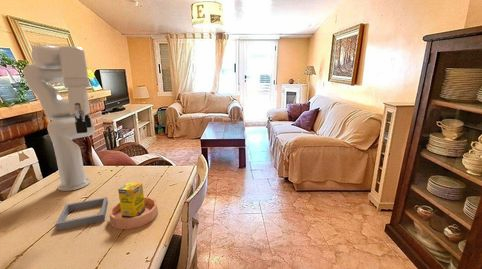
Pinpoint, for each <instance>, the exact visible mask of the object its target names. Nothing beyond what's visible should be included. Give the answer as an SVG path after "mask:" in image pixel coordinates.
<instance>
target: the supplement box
mask: <svg viewBox="0 0 482 269" xmlns="http://www.w3.org/2000/svg"><path fill="white" fill-rule="evenodd" d="M143 186H144V185H143V183H142V182H129V181H128V182H127V183H126V184H124V185H122V186H121V187H120V188H117V191H118V197H119V198H118V199H119V202H120V207H121V214H122V217H127V218H132V217H137V216H139V215H140V214H141V213H142V212H143V211H145V203H144V197H145V195H144V187H143Z"/></svg>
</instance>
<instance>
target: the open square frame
mask: <svg viewBox="0 0 482 269" xmlns="http://www.w3.org/2000/svg"><path fill="white" fill-rule="evenodd" d="M108 205H109V201H108V196H106V197H100V198H95V199H88V200H84V201H78V202H72V203H66V204H65V205H64V207H63V209H62V211H61V213H60V215H59V217H58V219H57V221H56V223H55V229H56V231H57V232H58V231H59V232H60V231H63V230H68V229H71V228H72V229H73V228H78V227H83V226H86V225H87V226H88V225H92V224H96V223H100V222H101V223H102V222H105V221H106V215H107V210H108V209H107V208H108ZM98 206H101V211H100V213H99V214H98V213H97V214H93V215H88V216H81V217H78V218H72V219H67V217H68V215H69V213H70V212H71V211H72V212H73V211H76V210H82V209H83V210H84V209H87V208H92V207H98Z"/></svg>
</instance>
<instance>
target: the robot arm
mask: <svg viewBox="0 0 482 269" xmlns="http://www.w3.org/2000/svg"><path fill="white" fill-rule="evenodd" d="M31 58H32V61H33V63H31V64H28V65H26V66H25V67H23V72H22V73H23V76H24V79H25V82H26V84H27V86H28V87H29V89H30V90H31V91H32V92H33V93H34V95H36V96H37V99H38V100H39V104H40V105H41V108H42V110H43V112H44V114H45V116H46V118H47V119H48V120H49V121H50V122H49V123H48V124H47V128H46V129H47V133H48V135H49V137H50V141H51V142H52V145H53V150H54V154H55V158H56V164H57V168H58V174H59V178H60V179H59V180H60V183H59V184H58V185H57V190H58V191H62V192H71V191H75V190H79V189H82V188H85V187H87V186H88V185H90V182H91V180H90V178H87V177H86V174H85V168H84V161H83V157H82V156H83V155H82V151H81V148H80V145H78V144H77V143H76V142H74V141H73V140H75V139H79V138H86V137H90V136H92V135H94V133H95V130H96V128H95V126H96V125H95V123H94V121H93V118H92V117H91V115H90V112H91V111H90V110H91V108H90V100H89V96H88V95H89V94H88V88H91V86H90V79H89V73H88V67H87V61H86V54H85V50H84V49H83V47H80V46H73V45H71V46H70V45H69V46H68V45H66V46H55V45H40V46H39V45H37V46H36V45H35V46H33V47H32V49H31ZM49 83H63V85H64V89H65V88H66V89H67V98H63V97H62V95H61V93H60V91H59V90H57V88H55V87H54V86H52V85H50V84H49Z"/></svg>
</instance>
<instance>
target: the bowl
mask: <svg viewBox="0 0 482 269" xmlns="http://www.w3.org/2000/svg"><path fill="white" fill-rule="evenodd" d="M144 203H145V211H143V212H142V213H141V214H140V215H139V216H137V217H132V218H127V217H122V214H121V207H120V201H119V202H117V203H116V204H114V205H113V206H112V207H111V208H110V209H109V215H108V216H109V222H110V225H112V226H113V227H114V228H116V229H120V230H121V229H123V230H131V229H135V228H139V227H143V226H145V225H147V224H148V223H150V222H152V221H153V220H154V219H155V218H156V217H157V216H158V214H159V210H158V204H157V203H158V202H157V199H154V198H152V197H150V196H144Z"/></svg>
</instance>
